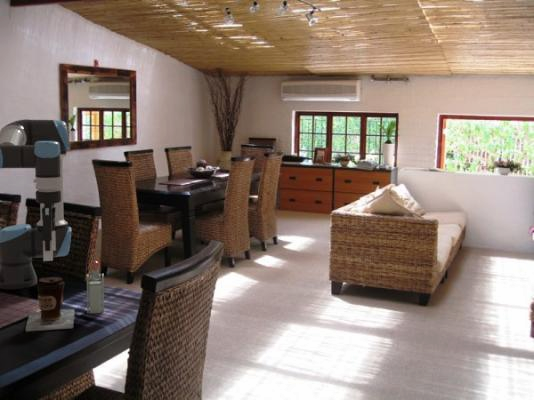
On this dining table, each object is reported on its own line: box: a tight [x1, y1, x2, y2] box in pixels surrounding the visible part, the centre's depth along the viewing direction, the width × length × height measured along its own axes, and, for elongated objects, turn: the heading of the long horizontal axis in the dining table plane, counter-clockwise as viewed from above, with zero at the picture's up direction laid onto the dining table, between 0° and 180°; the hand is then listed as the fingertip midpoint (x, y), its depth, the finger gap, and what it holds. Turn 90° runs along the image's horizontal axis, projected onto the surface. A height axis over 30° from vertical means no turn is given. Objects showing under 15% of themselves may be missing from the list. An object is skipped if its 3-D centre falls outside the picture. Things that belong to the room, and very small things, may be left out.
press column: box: [86, 273, 105, 314], centre depth 201 cm, size 4×6×13 cm
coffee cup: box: [36, 276, 65, 320], centre depth 189 cm, size 9×8×13 cm
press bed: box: [25, 308, 75, 332], centre depth 191 cm, size 14×14×2 cm
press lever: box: [89, 260, 102, 282], centre depth 195 cm, size 15×4×3 cm
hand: (49, 255), depth 187 cm, fingers open, 13 cm apart
